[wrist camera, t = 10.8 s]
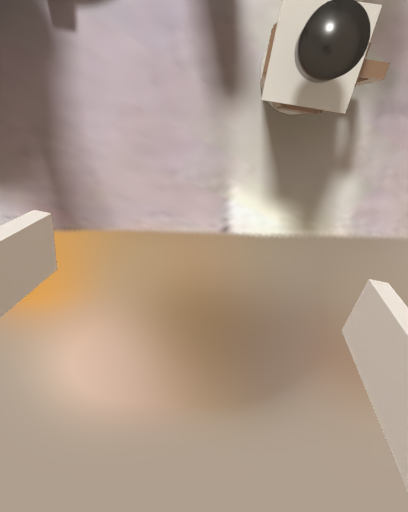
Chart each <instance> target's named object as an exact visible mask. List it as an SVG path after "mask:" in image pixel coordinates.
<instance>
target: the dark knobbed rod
mask: <svg viewBox="0 0 408 512" xmlns="http://www.w3.org/2000/svg"><path fill="white" fill-rule="evenodd" d="M370 32H371V27H370V20H369V17H368V14H367V12H366V10H365V9H364V8H363V6H362V5H361V4H360V3H358V2H357V1H355V0H331V1H328V2H326V3H325V4H323V5H322V6H320V7H319V8H318V9H317V10H316V11H315V12H314V13H313V14H312V15H311V17H310V18H309V20H308V21H307V23H306V25H305V26H304V28H303V30H302V31H301V33H300V35H299V37H298V39H297V42H296V46H295V53H294V57H295V64H296V67H297V69H298V71H299V73H300V74H301V75H302V76H303V77H304V78H305V79H306V80H308V81H311V82H314V83H323V82H327V81H330V80H333V79H335V78H338V77H340V76H342V75H344V74H346V73H347V72H349V71H350V70H351V69H353V68H354V67H355V66H356V65H357V64H358V62H359V61H360V60H361V58H362V57H363V55H364V53H365V51H366V49H367V46H368V43H369V40H370Z"/></svg>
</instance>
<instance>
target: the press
mask: <svg viewBox="0 0 408 512" xmlns="http://www.w3.org/2000/svg"><path fill="white" fill-rule="evenodd" d="M328 1H331V0H282V3H281V8H280V13H279V18H278V22H277V23H276V24H275V25H274V26H273V28H272V31H271V35H270V40H269V45H268V49H267V51H266V52H265V55H264V57H263V60H262V64H261V69H260V85H261V89H262V92H263V93H262V98H261V100H264V101H267V102H268V103H269V104H270V105H271V106H272V107H273V108H274V109H276V110H277V111H279V112H282V113H285V114H291V115H297V114H303V113H311V114H318V113H321V112H322V111H331V112H337V113H343V114H345V113H346V110H347V107H348V104H349V101H350V98H351V95H352V92H353V90H354V87H356V85H357V86H359V85H363V84H367V83H371V82H375V81H379V80H383V79H384V78H385V75H386V72H387V70H388V67H389V64H390V63H385V62H379V61H372V60H365V58H366V56H367V53H368V50H369V47H370V44H371V43H368V46H367V49H366V51H365V53H364V55H363V57H362V58H361V60H360V61H359V62H358V64H357V65H356V66H355V67H354V68H353V69H351V70H350V71H349V72H347V73H346V74H344V75H342V76H340V77H338V78H335V79H333V80H330V81H327V82H323V83H314V82H311V81H308V80H306V79H305V78H304V77H303V76H302V75H301V74H300V73H299V71H298V69H297V67H296V64H295V57H294V53H295V46H296V42H297V39H298V37H299V35H300V33H301V31H302V30H303V28H304V26H305V25H306V23H307V21H308V20H309V18H310V17H311V15H312V14H313V13H314V12H315V11H316V10H317V9H318V8H319V7H320V6H322V5H323V4H325V3H326V2H328ZM358 3H360V4H361V5H362V6H363V8H364V9H365V10H366V12H367V14H368V17H369V20H370V27H371V32H370V40H371V37H372V34H373V31H374V28H375V25H376V22H377V19H378V16H379V13H380V10H381V7H382V5H379V4H372V3H365V2H358ZM370 40H369V42H370Z"/></svg>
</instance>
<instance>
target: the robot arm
mask: <svg viewBox="0 0 408 512" xmlns="http://www.w3.org/2000/svg"><path fill="white" fill-rule="evenodd" d="M56 270H57V264H56V253H55V244H54V234H53V224H52V215H51V213H47V212H42V211H37V210H32V211H30V212H28V213H26V214H24V215H22V216H20V217H18V218H16V219H14V220H12V221H10V222H8V223H5V224H3V225H1V226H0V317H2V316H3V315H4V314H5V313H6V312H8V311H9V310H10V309H11V308H12V307H13V306H14V305H16V304H17V303H18V302H19V301H20V300H22V299H23V298H24V297H25V296H26V295H27V294H29V293H30V292H31V291H32V290H33V289H34V288H36V287H37V286H38V285H39V284H40V283H42V282H43V281H44V280H45V279H46V278H47V277H49V276H50V275H51V274H52V273H53V272H54V271H56ZM342 333H343V335H344V338H345V340H346V343H347V345H348V348H349V350H350V352H351V355H352V357H353V360H354V362H355V365H356V367H357V369H358V372H359V374H360V377H361V379H362V382H363V384H364V387H365V389H366V391H367V394H368V396H369V399H370V401H371V403H372V406H373V408H374V411H375V413H376V416H377V418H378V421H379V423H380V426H381V428H382V431H383V433H384V435H385V438H386V440H387V443H388V445H389V448H390V450H391V453H392V455H393V457H394V460H395V462H396V465H397V467H398V469H399V472H400V474H401V477H402V479H403V482H404V484H405V487H406V489H407V492H408V308H407V307H406V305H405V304H404V303H403V301H402V300H401V299H400V297H399V296H398V295H397V294H396V292H395V291H394V290H393V288H392V287H391V286H390V285H389V283H385V282H380V281H375V280H371V279H369V280H368V281H367V283H366V285H365V287H364V289H363V291H362V293H361V295H360V297H359V299H358V301H357V303H356V305H355V306H354V308H353V310H352V312H351V314H350V316H349V318H348V320H347V322H346V324H345V325H344V327H343V329H342Z"/></svg>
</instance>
